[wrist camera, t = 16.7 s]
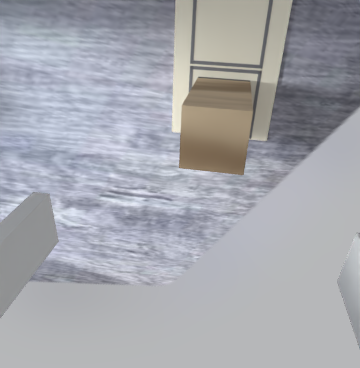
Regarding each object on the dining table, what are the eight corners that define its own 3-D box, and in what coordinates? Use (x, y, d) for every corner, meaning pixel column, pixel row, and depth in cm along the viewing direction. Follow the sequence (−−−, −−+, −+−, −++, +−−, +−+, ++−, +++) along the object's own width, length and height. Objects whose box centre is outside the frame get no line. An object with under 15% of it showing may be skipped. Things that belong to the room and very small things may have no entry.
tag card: (172, 130, 35) (171, 132, 35) (176, -23, 28) (175, -23, 28) (266, 140, 34) (266, 141, 34) (295, -18, 27) (296, -18, 27)
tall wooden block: (198, 76, 32) (181, 105, 23) (250, 80, 31) (253, 111, 22) (195, 125, 34) (179, 167, 26) (243, 130, 33) (243, 175, 25)
